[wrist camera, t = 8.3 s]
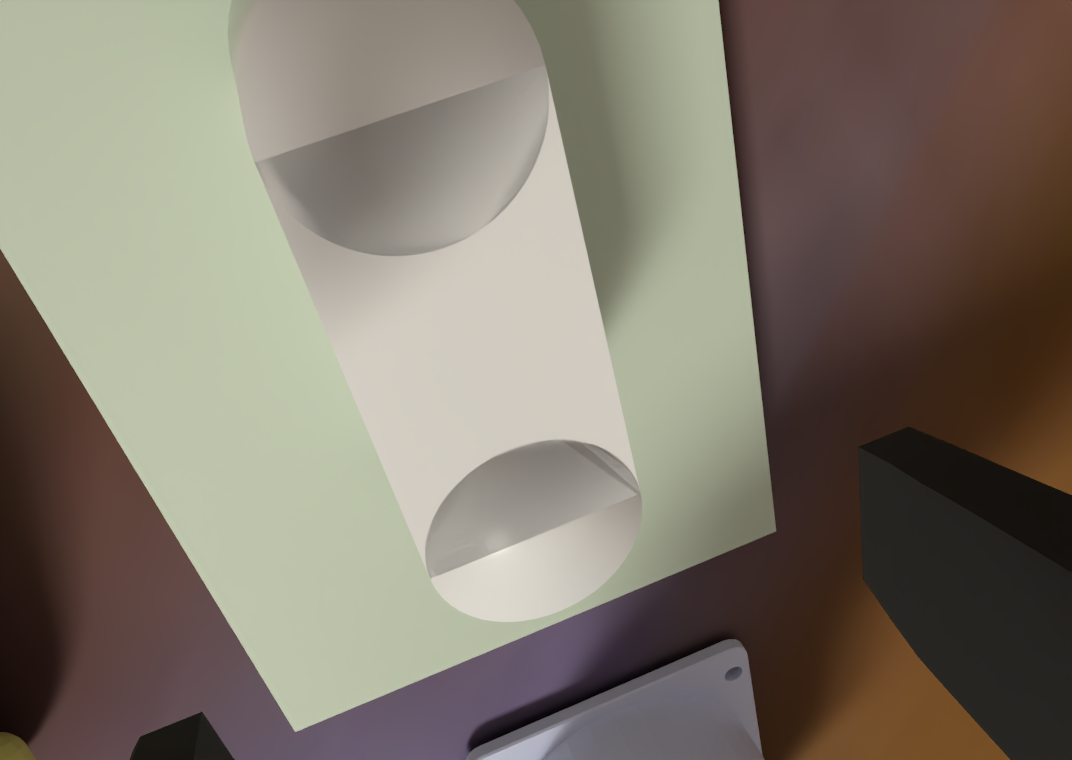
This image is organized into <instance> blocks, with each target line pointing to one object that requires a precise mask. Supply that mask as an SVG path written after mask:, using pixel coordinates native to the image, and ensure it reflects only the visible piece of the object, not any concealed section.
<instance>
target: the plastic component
mask: <svg viewBox="0 0 1072 760" xmlns="http://www.w3.org/2000/svg"><path fill="white" fill-rule="evenodd" d="M0 760H36V758H35V757H34V755H33V754H32V752H31V751H30V749H29V748H28V746H27V745H26V743H25V742H24V741H23V740H22V739H21V738H19V737H17V736H15V735H13V734H11V733H7V732H0Z"/></svg>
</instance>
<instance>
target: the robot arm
mask: <svg viewBox="0 0 1072 760" xmlns="http://www.w3.org/2000/svg"><path fill="white" fill-rule="evenodd" d="M859 472H860V501H861V530H862V559H863V579H864V581H865V582H866V584H867V585H868V587H869V588H870V590H871V591H872V592H873V594H874V595H875V597H876V598H877V600H878V601H879V603H880V604H881V606H882V607H883V608H884V610H885V611H886V613H887V614H888V616H889V617H890V619H891V620H892V622H893V623H894V624H895V626H896V627H897V628H898V630H899V631H900V633H901V634H902V635H903V637H904V638H905V639H906V641H907V642H908V644H909V645H910V646H911V648H912V649H913V650H914V652H915V653H916V655H917V656H918V657H919V658H920V659H921V661H922V662H923V663H924V664H925V665H926V666H927V667H928V669H929V670H930V671H931V672H932V673H933V674H934V675H935V677H936V678H937V679H938V680H939V681H940V682H941V683H942V684H943V685H944V687H945V688H946V689H947V690H948V691H949V692H950V693H951V694H952V696H953V697H954V698H955V699H956V700H957V701H958V702H959V703H960V704H961V706H962V707H963V708H964V709H965V710H966V711H967V712H968V713H969V714H970V716H971V717H972V718H973V719H974V720H975V721H976V722H977V723H978V724H979V725H980V727H981V728H982V729H983V730H984V731H985V732H986V733H987V734H988V735H989V736H990V738H991V739H992V740H993V741H994V742H995V743H996V744H997V745H998V746H999V747H1000V749H1001V750H1002V751H1003V752H1004V753H1005V754H1006V755H1007V756H1008V757H1009V758H1010V760H1072V495H1070V494H1067V493H1065V492H1062V491H1060V490H1058V489H1055V488H1053V487H1050V486H1048V485H1046V484H1043V483H1041V482H1039V481H1036V480H1034V479H1031V478H1029V477H1027V476H1024V475H1022V474H1020V473H1017V472H1015V471H1013V470H1010V469H1008V468H1006V467H1003V466H1001V465H999V464H996V463H994V462H992V461H989V460H987V459H985V458H982V457H980V456H978V455H975V454H973V453H971V452H968V451H966V450H964V449H961V448H959V447H957V446H954V445H952V444H949V443H947V442H945V441H942V440H940V439H937V438H935V437H933V436H930V435H928V434H925V433H923V432H920V431H918V430H915V429H913V428H910V427H907V428H904V429H902V430H899V431H897V432H894V433H892V434H889V435H887V436H884V437H882V438H880V439H877V440H875V441H872V442H870V443H867V444H865V445H862V446H860V447H859ZM130 760H234V759H233V757H232V756H231V754H230V753H229V751H228V750H227V748H226V747H225V745H224V744H223V742H222V741H221V739H220V738H219V736H218V735H217V733H216V732H215V730H214V729H213V727H212V726H211V724H210V723H209V721H208V720H207V718H206V717H205V715H204V714H203V712H201V713H198V714H196V715H193V716H191V717H188V718H186V719H183V720H181V721H178V722H176V723H173V724H171V725H168V726H166V727H163V728H161V729H158V730H156V731H153V732H151V733H148V734H146V735H144V736H141V737H140V738H139V740H138V742H137V744H136V746H135V747H134V750H133V752H132V755H131V758H130ZM466 760H765V759H764V758H763V756H762V749H761V742H760V735H759V729H758V722H757V715H756V708H755V701H754V695H753V688H752V681H751V674H750V668H749V661H748V654H747V652H746V650H745V648H744V647H743V645H742V644H741V642H740V641H738V640H736V639H728V640H724V641H721V642H719V643H717V644H714V645H712V646H710V647H707V648H705V649H703V650H700V651H698V652H696V653H693V654H691V655H689V656H686V657H684V658H682V659H680V660H677V661H675V662H673V663H670V664H668V665H666V666H663V667H661V668H659V669H656V670H654V671H652V672H649V673H647V674H645V675H642V676H640V677H638V678H635V679H633V680H631V681H629V682H626V683H624V684H622V685H619V686H617V687H615V688H612V689H610V690H608V691H605V692H603V693H601V694H598V695H596V696H594V697H591V698H589V699H587V700H584V701H582V702H580V703H578V704H575V705H573V706H571V707H568V708H566V709H564V710H561V711H559V712H557V713H554V714H552V715H550V716H547V717H545V718H543V719H540V720H538V721H536V722H533V723H531V724H529V725H527V726H524V727H522V728H520V729H517V730H515V731H513V732H510V733H508V734H506V735H503V736H501V737H499V738H496V739H494V740H492V741H489V742H487V743H485V744H482V745H480V746H478V747H476V748H475V749H473V750H472V751H471V752H470V753H469V754H468V756H467V758H466Z"/></svg>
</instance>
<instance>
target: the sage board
mask: <svg viewBox="0 0 1072 760" xmlns="http://www.w3.org/2000/svg"><path fill="white" fill-rule="evenodd" d="M231 1H232V0H0V249H1V250H2V252H3V254H4V255H5V257H6V259H7V260H8V262H9V264H10V265H11V267H12V268H13V270H14V272H15V273H16V275H17V277H18V278H19V280H20V282H21V283H22V285H23V286H24V288H25V290H26V291H27V293H28V295H29V296H30V298H31V300H32V301H33V303H34V305H35V306H36V308H37V309H38V311H39V313H40V314H41V316H42V318H43V319H44V321H45V323H46V324H47V326H48V327H49V329H50V331H51V332H52V334H53V336H54V337H55V339H56V341H57V342H58V344H59V346H60V347H61V349H62V350H63V352H64V354H65V355H66V357H67V359H68V360H69V362H70V364H71V365H72V367H73V368H74V370H75V372H76V373H77V375H78V377H79V378H80V380H81V382H82V383H83V385H84V387H85V388H86V390H87V391H88V393H89V395H90V396H91V398H92V400H93V401H94V403H95V405H96V406H97V408H98V409H99V411H100V413H101V414H102V416H103V418H104V419H105V421H106V423H107V424H108V426H109V428H110V429H111V431H112V432H113V434H114V436H115V437H116V439H117V441H118V442H119V444H120V446H121V447H122V449H123V450H124V452H125V454H126V455H127V457H128V459H129V460H130V462H131V464H132V465H133V467H134V469H135V470H136V472H137V473H138V475H139V477H140V478H141V480H142V482H143V483H144V485H145V487H146V488H147V490H148V491H149V493H150V495H151V496H152V498H153V500H154V501H155V503H156V505H157V506H158V508H159V509H160V511H161V513H162V514H163V516H164V518H165V519H166V521H167V523H168V524H169V526H170V528H171V529H172V531H173V532H174V534H175V536H176V537H177V539H178V541H179V542H180V544H181V546H182V547H183V549H184V550H185V552H186V554H187V555H188V557H189V559H190V560H191V562H192V564H193V565H194V567H195V569H196V570H197V572H198V573H199V575H200V577H201V578H202V580H203V582H204V583H205V585H206V587H207V588H208V590H209V591H210V593H211V595H212V596H213V598H214V600H215V601H216V603H217V605H218V606H219V608H220V610H221V611H222V613H223V614H224V616H225V618H226V619H227V621H228V623H229V624H230V626H231V628H232V629H233V631H234V632H235V634H236V636H237V637H238V639H239V641H240V642H241V644H242V646H243V647H244V649H245V651H246V652H247V654H248V655H249V657H250V659H251V660H252V662H253V664H254V665H255V667H256V669H257V670H258V672H259V673H260V675H261V677H262V678H263V680H264V682H265V683H266V685H267V687H268V688H269V690H270V692H271V693H272V695H273V696H274V698H275V700H276V701H277V703H278V705H279V706H280V708H281V710H282V711H283V713H284V714H285V716H286V718H287V719H288V721H289V723H290V724H291V726H292V728H293V729H294V731H295V732H296V731H299V730H301V729H304V728H306V727H308V726H311V725H313V724H316V723H318V722H320V721H323V720H325V719H328V718H330V717H332V716H335V715H337V714H340V713H342V712H344V711H347V710H349V709H352V708H354V707H356V706H359V705H361V704H364V703H366V702H368V701H371V700H373V699H376V698H378V697H380V696H383V695H385V694H388V693H390V692H392V691H395V690H397V689H399V688H402V687H404V686H407V685H409V684H411V683H414V682H416V681H419V680H421V679H423V678H426V677H428V676H431V675H433V674H435V673H438V672H440V671H443V670H445V669H447V668H450V667H452V666H455V665H457V664H459V663H462V662H464V661H467V660H469V659H471V658H474V657H476V656H479V655H481V654H483V653H486V652H488V651H491V650H493V649H495V648H498V647H500V646H503V645H505V644H507V643H510V642H512V641H515V640H517V639H519V638H522V637H524V636H526V635H529V634H531V633H534V632H536V631H538V630H541V629H543V628H546V627H548V626H550V625H553V624H555V623H558V622H560V621H562V620H565V619H567V618H570V617H572V616H574V615H577V614H579V613H582V612H584V611H586V610H589V609H591V608H594V607H596V606H598V605H601V604H603V603H606V602H608V601H610V600H613V599H615V598H618V597H620V596H622V595H625V594H627V593H630V592H632V591H634V590H637V589H639V588H642V587H644V586H646V585H649V584H651V583H654V582H656V581H658V580H661V579H663V578H665V577H668V576H670V575H673V574H675V573H677V572H680V571H682V570H685V569H687V568H689V567H692V566H694V565H697V564H699V563H701V562H704V561H706V560H709V559H711V558H713V557H716V556H718V555H721V554H723V553H725V552H728V551H730V550H733V549H735V548H737V547H740V546H742V545H745V544H747V543H749V542H752V541H754V540H757V539H759V538H761V537H764V536H766V535H769V534H771V533H773V532H776V524H775V515H774V506H773V497H772V488H771V479H770V469H769V460H768V451H767V442H766V433H765V423H764V414H763V405H762V396H761V387H760V377H759V368H758V359H757V350H756V341H755V332H754V322H753V313H752V304H751V295H750V286H749V276H748V267H747V258H746V249H745V240H744V231H743V221H742V212H741V203H740V194H739V185H738V175H737V166H736V157H735V148H734V139H733V129H732V120H731V111H730V102H729V93H728V84H727V74H726V65H725V56H724V47H723V38H722V28H721V19H720V10H719V1H718V0H514V1H515V3H516V4H517V5H518V6H519V8H520V9H521V10H522V12H523V14H524V15H525V17H526V19H527V20H528V22H529V24H530V25H531V27H532V29H533V31H534V34H535V36H536V38H537V41H538V43H539V45H540V48H541V52H542V55H543V59H544V62H545V66H546V70H547V75H548V79H549V84H550V88H551V93H552V97H553V102H554V106H555V111H556V115H557V120H558V124H559V129H560V133H561V138H562V142H563V147H564V151H565V156H566V160H567V165H568V169H569V174H570V178H571V183H572V187H573V192H574V196H575V201H576V205H577V210H578V214H579V219H580V223H581V227H582V232H583V236H584V241H585V245H586V250H587V254H588V259H589V263H590V268H591V272H592V277H593V281H594V286H595V290H596V295H597V299H598V304H599V308H600V313H601V317H602V322H603V326H604V331H605V335H606V340H607V344H608V349H609V353H610V358H611V362H612V367H613V371H614V376H615V380H616V385H617V389H618V394H619V398H620V403H621V407H622V412H623V416H624V421H625V425H626V430H627V434H628V439H629V443H630V448H631V452H632V457H633V461H634V466H635V470H636V475H637V479H638V484H639V488H640V493H641V500H642V518H641V523H640V528H639V531H638V534H637V538H636V540H635V542H634V544H633V546H632V549H631V550H630V552H629V554H628V555H627V557H626V559H625V560H624V562H623V563H622V564H621V565H620V567H619V568H618V569H617V571H616V572H615V573H614V574H613V575H612V576H611V577H610V578H609V579H608V580H607V581H606V582H605V583H604V584H603V585H601V586H600V587H599V588H598V589H597V590H596V591H594V592H593V593H591V594H590V595H589V596H587V597H586V598H584V599H582V600H581V601H579V602H577V603H576V604H574V605H572V606H570V607H568V608H566V609H564V610H561V611H559V612H556V613H553V614H551V615H548V616H544V617H541V618H537V619H532V620H526V621H518V622H495V621H489V620H482V619H479V618H476V617H472V616H470V615H467V614H465V613H463V612H461V611H459V610H457V609H456V608H454V607H453V606H451V605H450V604H449V603H448V602H447V601H445V600H444V599H443V598H442V597H441V595H440V594H439V593H438V592H437V590H436V589H435V587H434V585H433V584H432V582H431V580H430V578H429V575H428V573H427V571H426V568H425V566H424V563H423V561H422V559H421V556H420V554H419V552H418V549H417V547H416V544H415V542H414V540H413V537H412V535H411V533H410V530H409V528H408V525H407V523H406V521H405V518H404V516H403V514H402V511H401V509H400V507H399V504H398V502H397V499H396V497H395V495H394V492H393V490H392V488H391V485H390V483H389V480H388V478H387V476H386V473H385V471H384V469H383V466H382V464H381V462H380V459H379V457H378V454H377V452H376V450H375V447H374V445H373V443H372V440H371V438H370V435H369V433H368V431H367V428H366V426H365V424H364V421H363V419H362V416H361V414H360V412H359V409H358V407H357V405H356V402H355V400H354V398H353V395H352V393H351V390H350V388H349V386H348V383H347V381H346V379H345V376H344V374H343V371H342V369H341V367H340V364H339V362H338V360H337V357H336V355H335V353H334V350H333V348H332V345H331V343H330V341H329V338H328V336H327V334H326V331H325V329H324V326H323V324H322V322H321V319H320V317H319V315H318V312H317V310H316V307H315V305H314V303H313V300H312V298H311V296H310V293H309V291H308V289H307V286H306V284H305V281H304V279H303V277H302V274H301V272H300V270H299V267H298V265H297V262H296V260H295V258H294V255H293V253H292V251H291V248H290V246H289V243H288V241H287V239H286V236H285V234H284V232H283V229H282V227H281V225H280V222H279V220H278V217H277V215H276V213H275V210H274V208H273V206H272V203H271V201H270V198H269V196H268V194H267V191H266V189H265V187H264V184H263V182H262V180H261V177H260V175H259V172H258V170H257V168H256V165H255V163H254V160H253V157H252V154H251V151H250V149H249V146H248V143H247V138H246V133H245V128H244V123H243V118H242V113H241V108H240V103H239V98H238V93H237V88H236V83H235V78H234V73H233V68H232V63H231V58H230V53H229V46H228V18H229V11H230V6H231Z"/></svg>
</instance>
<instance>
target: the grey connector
mask: <svg viewBox="0 0 1072 760" xmlns="http://www.w3.org/2000/svg"><path fill="white" fill-rule="evenodd" d="M228 46H229V53H230V58H231V63H232V68H233V73H234V78H235V83H236V88H237V93H238V98H239V103H240V108H241V113H242V118H243V123H244V128H245V133H246V138H247V143H248V146H249V149H250V151H251V154H252V157H253V160H254V163H255V165H256V168H257V170H258V172H259V175H260V177H261V180H262V182H263V184H264V187H265V189H266V191H267V194H268V196H269V198H270V201H271V203H272V206H273V208H274V210H275V213H276V215H277V217H278V220H279V222H280V225H281V227H282V229H283V232H284V234H285V236H286V239H287V241H288V243H289V246H290V248H291V251H292V253H293V255H294V258H295V260H296V262H297V265H298V267H299V270H300V272H301V274H302V277H303V279H304V281H305V284H306V286H307V289H308V291H309V293H310V296H311V298H312V300H313V303H314V305H315V307H316V310H317V312H318V315H319V317H320V319H321V322H322V324H323V326H324V329H325V331H326V334H327V336H328V338H329V341H330V343H331V345H332V348H333V350H334V353H335V355H336V357H337V360H338V362H339V364H340V367H341V369H342V371H343V374H344V376H345V379H346V381H347V383H348V386H349V388H350V390H351V393H352V395H353V398H354V400H355V402H356V405H357V407H358V409H359V412H360V414H361V416H362V419H363V421H364V424H365V426H366V428H367V431H368V433H369V435H370V438H371V440H372V443H373V445H374V447H375V450H376V452H377V454H378V457H379V459H380V462H381V464H382V466H383V469H384V471H385V473H386V476H387V478H388V480H389V483H390V485H391V488H392V490H393V492H394V495H395V497H396V499H397V502H398V504H399V507H400V509H401V511H402V514H403V516H404V518H405V521H406V523H407V525H408V528H409V530H410V533H411V535H412V537H413V540H414V542H415V544H416V547H417V549H418V552H419V554H420V556H421V559H422V561H423V563H424V566H425V568H426V571H427V573H428V575H429V578H430V580H431V582H432V584H433V585H434V587H435V589H436V590H437V592H438V593H439V594H440V595H441V597H442V598H443V599H444V600H445V601H447V602H448V603H449V604H450V605H451V606H453V607H454V608H456V609H457V610H459V611H461V612H463V613H465V614H467V615H470V616H472V617H476V618H479V619H482V620H489V621H495V622H518V621H526V620H532V619H537V618H541V617H544V616H548V615H551V614H553V613H556V612H559V611H561V610H564V609H566V608H568V607H570V606H572V605H574V604H576V603H577V602H579V601H581V600H582V599H584V598H586V597H587V596H589V595H590V594H591V593H593V592H594V591H596V590H597V589H598V588H599V587H600V586H601V585H603V584H604V583H605V582H606V581H607V580H608V579H609V578H610V577H611V576H612V575H613V574H614V573H615V572H616V571H617V569H618V568H619V567H620V565H621V564H622V563H623V562H624V560H625V559H626V557H627V555H628V554H629V552H630V550H631V549H632V546H633V544H634V542H635V540H636V538H637V534H638V531H639V528H640V523H641V518H642V500H641V493H640V488H639V484H638V479H637V475H636V470H635V466H634V461H633V457H632V452H631V448H630V443H629V439H628V434H627V430H626V425H625V421H624V416H623V412H622V407H621V403H620V398H619V394H618V389H617V385H616V380H615V376H614V371H613V367H612V362H611V358H610V353H609V349H608V344H607V340H606V335H605V331H604V326H603V322H602V317H601V313H600V308H599V304H598V299H597V295H596V290H595V286H594V281H593V277H592V272H591V268H590V263H589V259H588V254H587V250H586V245H585V241H584V236H583V232H582V227H581V223H580V219H579V214H578V210H577V205H576V201H575V196H574V192H573V187H572V183H571V178H570V174H569V169H568V165H567V160H566V156H565V151H564V147H563V142H562V138H561V133H560V129H559V124H558V120H557V115H556V111H555V106H554V102H553V97H552V93H551V88H550V84H549V79H548V75H547V70H546V66H545V62H544V59H543V55H542V52H541V48H540V45H539V43H538V41H537V38H536V36H535V34H534V31H533V29H532V27H531V25H530V24H529V22H528V20H527V19H526V17H525V15H524V14H523V12H522V10H521V9H520V8H519V6H518V5H517V4H516V3H515V1H514V0H232V1H231V6H230V11H229V18H228Z"/></svg>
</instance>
